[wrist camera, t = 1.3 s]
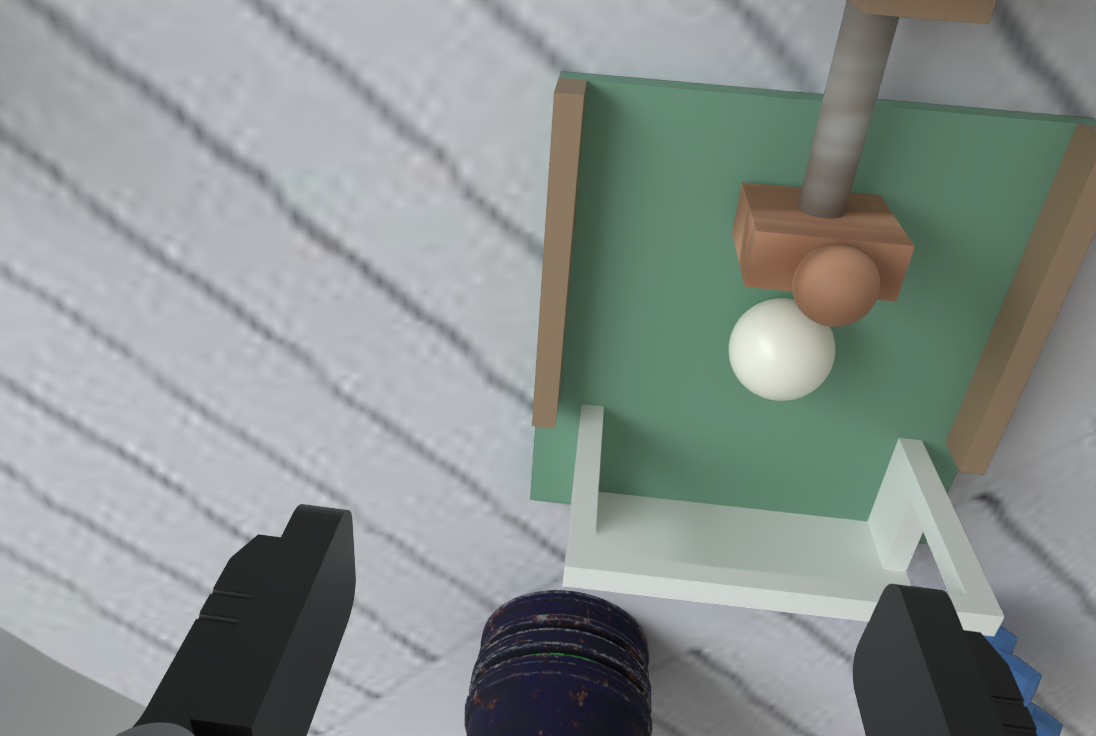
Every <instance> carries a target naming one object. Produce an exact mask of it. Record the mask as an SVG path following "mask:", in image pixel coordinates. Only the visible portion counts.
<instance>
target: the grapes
mask: <svg viewBox="0 0 1096 736" xmlns="http://www.w3.org/2000/svg"><path fill="white" fill-rule="evenodd" d="M983 636H984V637H985V638H986V639H987V640H988V641H989V643H990V644H991V645H992V646H993V647H994V648H995V650H996V651H997V652H998V653H999V654H1000V655H1001V657H1002V658H1003V659H1004V660H1005V661H1006V662H1007V663H1008V665H1009V667H1010V669H1011V671H1012V674H1013V676H1014V678H1015V680H1016V683H1017V685H1018V687H1019V689H1020V692H1021V694H1022V696H1023V698H1024V702H1023V703H1024V706H1025V707H1028V710H1029V712H1030V714H1031V716H1032V719H1033V721H1034V723H1035V725H1036V728H1037V730H1036V734H1037V736H1060V733H1061V730H1062V727H1063V724H1062V723H1060V722H1059V721H1058V720H1056V719H1055V718H1054V717H1053V716H1051V715H1050V714H1049V713H1047V712H1046V711H1044V710H1043V709H1042V708H1040V707H1039V706H1037V705H1035V704H1033V703H1032V702H1031V701H1032V698H1033V696H1034V694H1035V692H1036V690H1037V687H1038V684H1039V682H1040V679H1041V676H1042V675H1041V674H1040V673H1039V672H1037V671H1036V670H1035V669H1033V668H1032V667H1031V666H1029V665H1028V664H1027V663H1025V662H1024V661H1023V660H1021V659H1020V658H1018V657H1017V656H1015V655H1013V654H1012V652H1013V650H1014V647H1015V644H1016V642H1017V639H1018V638H1017V637H1016V636H1014V635H1013V634H1012V633H1010V632H1009V631H1008V630H1006V629H1005V628H1004V627H1002V626H1001V625H1000V627H999V628H998V630H997V632H996V634H995V636H986V635H983Z"/></svg>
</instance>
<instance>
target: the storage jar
mask: <svg viewBox="0 0 1096 736" xmlns="http://www.w3.org/2000/svg"><path fill="white" fill-rule="evenodd" d="M648 663H649V657H648V643H647V640H646V637H645V635H644V633H643V631H642V629H641V627H640V626H639V625H638V624H637V622H636V621H635V620H634V619H633V618H632V617H631V616H630V615H629V614H627V613H626V612H625V611H623V610H622V609H620V608H619V607H617V606H616V605H614V604H612V603H610V602H608V601H606V600H604V599H601V598H598V597H595V596H592V595H588V594H584V593H580V592H572V591H560V590H550V591H540V592H534V593H530V594H526V595H523V596H520V597H517V598H514V599H512V600H511V601H509V602H507V603H505V604H503V605H502V606H501V607H500V608H498V609H497V610H496V611H495V612H494V613H493V614H492V615H491V616H490V617H489V619H488V621H487V623H486V624H485V627H484V630H483V634H482V639H481V649H480V651H479V655H478V659H477V661H476V663H475V665H474V669H473V673H472V678H471V682H470V687H469V695H468V697H467V700H466V703H465V729H466V733H467V736H651V733H652V719H651V716H650V715H651V685H650V682H649V673H648Z"/></svg>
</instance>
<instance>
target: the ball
mask: <svg viewBox="0 0 1096 736" xmlns="http://www.w3.org/2000/svg"><path fill="white" fill-rule="evenodd" d="M834 358H835V340H834V336H833V332H832V330H831V328H830V326H824V325H821V324H818V323H816V322H814V321H812V320H810V319H809V318H808V317H806V316H805V315H804V314H803V313H802V312H801V311H800V309H799V308H798V306H797V304H796V302H795V300H794V299H789V298H775V299H770V300H766V301H763V302H761V303H758V304H757V305H755V306H753V307H752V308H750V309H749V310H748V311H746V312H745V313H744V314H743V315H742V316H741V317H740V319H739V320H738V321H737V323H736V325H735V326H734V328H733V331H732V333H731V336H730V340H729V359H730V363H731V366H732V369H733V371H734V373H735V375H736V377H737V378H738V380H739V381H740V382H741V383H742V384H743V385H744V386H745V387H746V388H747V389H748V390H750V391H751V392H753V393H754V394H756V395H758V396H760V397H763V398H766V399H769V400H775V401H788V400H794V399H798V398H801V397H803V396H805V395H807V394H809V393H811V392H812V391H814V390H815V389H816V388H818V387H819V386H820V385H821V384H822V383H823V382H824V380H825V379H826V378H827V376H828V374H829V373H830V371H831V368H832V366H833V363H834Z"/></svg>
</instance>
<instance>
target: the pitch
mask: <svg viewBox="0 0 1096 736" xmlns="http://www.w3.org/2000/svg"><path fill="white" fill-rule="evenodd" d="M823 97H824V94H813V93H802V92H790V91H779V90H768V89H756V88H745V87H734V86H722V85H711V84H700V83H689V82H677V81H666V80H655V79H643V78H632V77H621V76H609V75H598V74H587V73H576V72H564V71H561V74H560V77H559V80H558V83H557V85H556V88H555V91H554V102H553V117H552V132H551V148H550V163H549V178H548V193H547V208H546V223H545V238H544V254H543V269H542V284H541V299H540V314H539V329H538V345H537V360H536V375H535V390H534V405H533V420H532V426H535V436H534V451H533V466H532V480H531V495H530V500H537V501H546V502H555V503H564V504H571V509H570V518H569V528H568V538H567V547H566V557H565V566H564V576H563V586H565V587H574V588H582V589H591V590H600V591H608V592H617V593H625V594H634V595H643V596H651V597H660V598H668V599H677V600H685V601H694V602H703V603H711V604H720V605H728V606H737V607H746V608H754V609H763V610H771V611H780V612H788V613H797V614H806V615H814V616H823V617H831V618H840V619H849V620H857V621H866V622H869V620H870V618H871V616H872V613H873V611H874V609H875V607H876V605H877V603H878V601H879V598H880V596H881V594H882V592H883V590H884V588H885V587H886V586H887V585H889V584H899V585H907V586H911V583H910V580H909V578H908V575H907V572H906V570H907V568H908V566H909V563H910V561H911V559H912V556H913V554H914V552H915V549H916V547H917V545H918V543H921V544H926V541H927V542H928V545H929V547H930V549H931V552H932V554H933V557H934V559H935V562H936V564H937V567H938V569H939V571H940V574H941V576H942V579H943V581H944V584H945V586H946V589H947V591H948V593H947V594H948V595H949V597H950V598H951V601H952V603H953V605H954V608H955V610H956V612H957V615H958V617H959V620H960V622H961V625H962V627H963V630H967V631H975V632H981V633H982V635H986V636H995V634H996V632H997V630H998V628H999V627H1000V625H1001V623H1002V621H1003V619H1004V615H1003V612H1002V610H1001V608H1000V606H999V604H998V602H997V600H996V597H995V595H994V593H993V591H992V589H991V587H990V585H989V583H988V580H987V578H986V576H985V574H984V572H983V570H982V568H981V565H980V563H979V561H978V559H977V557H976V555H975V553H974V551H973V548H972V546H971V544H970V542H969V540H968V538H967V536H966V533H965V531H964V529H963V527H962V525H961V523H960V521H959V519H958V516H957V514H956V512H955V510H954V508H953V506H952V504H951V501H950V499H949V497H948V495H947V493H948V491H949V488H950V486H951V484H952V481H953V479H954V477H955V474H956V472H957V470H959V472H963V473H973V474H982V475H984V474H985V472H986V470H987V467H988V465H989V463H990V461H991V459H992V457H993V454H994V452H995V450H996V448H997V446H998V443H999V441H1000V439H1001V437H1002V435H1003V433H1004V430H1005V428H1006V426H1007V424H1008V422H1009V419H1010V417H1011V415H1012V413H1013V411H1014V409H1015V406H1016V404H1017V402H1018V400H1019V398H1020V396H1021V393H1022V391H1023V389H1024V387H1025V385H1026V382H1027V380H1028V378H1029V376H1030V374H1031V372H1032V369H1033V367H1034V365H1035V363H1036V361H1037V358H1038V356H1039V354H1040V352H1041V350H1042V348H1043V345H1044V343H1045V341H1046V339H1047V337H1048V334H1049V332H1050V330H1051V328H1052V326H1053V324H1054V321H1055V319H1056V317H1057V315H1058V313H1059V310H1060V308H1061V306H1062V304H1063V302H1064V300H1065V297H1066V295H1067V293H1068V291H1069V289H1070V287H1071V284H1072V282H1073V280H1074V278H1075V276H1076V273H1077V271H1078V269H1079V267H1080V265H1081V263H1082V260H1083V258H1084V256H1085V254H1086V252H1087V249H1088V247H1089V245H1090V243H1091V241H1092V239H1093V236H1094V234H1095V232H1096V120H1095V119H1093V118H1084V117H1073V116H1062V115H1050V114H1039V113H1028V112H1016V111H1005V110H994V109H982V108H971V107H960V106H949V105H937V104H926V103H915V102H903V101H892V100H881V99H876V103H875V107H874V110H873V114H872V117H871V121H870V125H869V128H868V132H867V136H866V139H865V143H864V146H863V150H862V154H861V157H860V161H859V164H858V168H857V172H856V175H855V179H854V183H853V186H852V190H851V193H862V194H873V195H880V196H881V197H882V199H883V200H884V202H885V203H886V205H887V206H888V207H889V209H890V210H891V212H892V213H893V215H894V216H895V218H896V219H897V221H898V222H899V224H900V225H901V227H902V228H903V230H904V231H905V233H906V234H907V236H908V237H909V239H910V240H911V242H912V243H913V245H914V246H915V247H914V250H913V253H912V256H911V259H910V262H909V265H908V268H907V271H906V274H905V277H904V280H903V283H902V286H901V289H900V292H899V295H898V298H897V301H896V302H893V301H883V300H877V301H876V303H875V305H874V306H873V308H872V309H871V310H870V311H869V312H868V314H866V315H865V316H864V317H863V318H861V319H860V320H858V321H856V322H854V323H852V324H849V325H846V326H840V327H830V328H831V330H832V332H833V336H834V340H835V358H834V363H833V366H832V368H831V371H830V373H829V374H828V376H827V378H826V379H825V380H824V382H823V383H822V384H821V385H820V386H819V387H818V388H816V389H815V390H814V391H812V392H811V393H809V394H807V395H805V396H803V397H801V398H798V399H794V400H788V401H775V400H769V399H766V398H763V397H760V396H758V395H756V394H754V393H753V392H751V391H750V390H748V389H747V388H746V387H745V386H744V385H743V384H742V383H741V382H740V381H739V380H738V378H737V377H736V375H735V373H734V371H733V369H732V366H731V363H730V359H729V340H730V336H731V333H732V331H733V328H734V326H735V325H736V323H737V321H738V320H739V319H740V317H741V316H742V315H743V314H744V313H745V312H746V311H748V310H749V309H750V308H752V307H753V306H755V305H757V304H758V303H761V302H763V301H766V300H770V299H775V298H789V299H794V296H793V292H792V291H782V290H772V289H762V288H752V287H745V286H744V282H743V278H742V273H741V269H740V265H739V260H738V256H737V252H736V248H735V243H734V239H733V235H732V231H733V226H734V221H735V216H736V211H737V206H738V201H739V196H740V190H741V185H742V182H745V183H755V184H766V185H777V186H787V187H798V188H802V184H803V180H804V176H805V172H806V167H807V163H808V159H809V155H810V151H811V147H812V143H813V138H814V134H815V130H816V126H817V122H818V118H819V114H820V109H821V105H822V101H823Z"/></svg>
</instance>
